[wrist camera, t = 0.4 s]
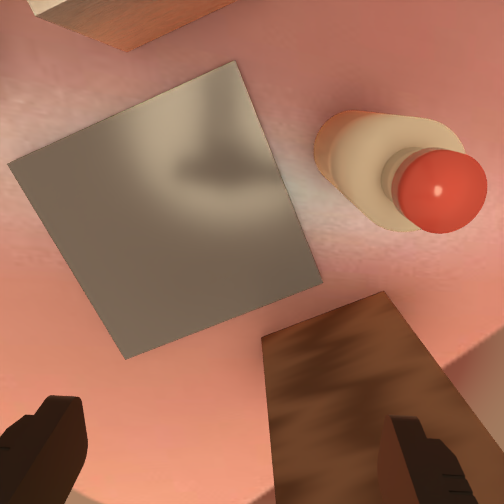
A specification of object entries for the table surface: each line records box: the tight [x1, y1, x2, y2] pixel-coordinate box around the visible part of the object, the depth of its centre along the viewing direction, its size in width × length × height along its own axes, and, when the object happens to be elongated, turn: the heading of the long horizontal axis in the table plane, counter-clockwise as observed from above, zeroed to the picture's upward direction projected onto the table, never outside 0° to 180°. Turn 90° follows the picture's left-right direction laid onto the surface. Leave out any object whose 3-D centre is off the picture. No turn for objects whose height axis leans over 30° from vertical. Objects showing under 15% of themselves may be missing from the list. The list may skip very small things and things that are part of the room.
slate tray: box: [7, 60, 323, 360], centre depth 31 cm, size 16×16×1 cm
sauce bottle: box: [314, 110, 487, 234], centre depth 23 cm, size 5×5×14 cm
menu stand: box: [261, 291, 504, 504], centre depth 26 cm, size 10×4×18 cm, turn 113°
